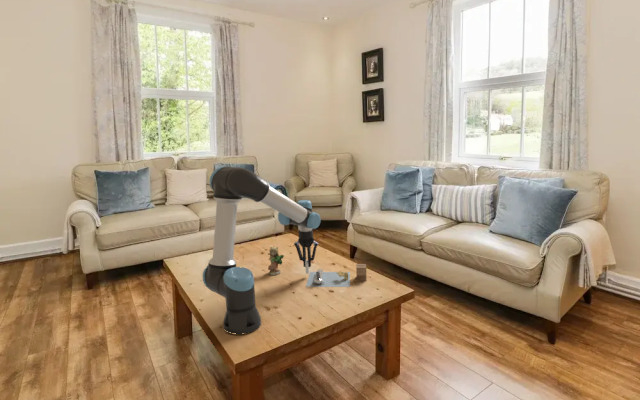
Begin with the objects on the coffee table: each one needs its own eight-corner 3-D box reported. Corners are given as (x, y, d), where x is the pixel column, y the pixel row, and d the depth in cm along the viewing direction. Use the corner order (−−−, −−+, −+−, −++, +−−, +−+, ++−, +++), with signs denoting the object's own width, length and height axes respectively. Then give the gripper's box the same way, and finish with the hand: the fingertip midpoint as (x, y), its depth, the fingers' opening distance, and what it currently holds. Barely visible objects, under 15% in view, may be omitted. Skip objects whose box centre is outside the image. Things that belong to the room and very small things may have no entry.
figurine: (265, 274, 205) (263, 248, 202) (273, 269, 211) (271, 244, 208) (279, 277, 200) (277, 250, 198) (286, 272, 207) (285, 246, 204)
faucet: (322, 284, 186) (322, 280, 186) (313, 284, 187) (313, 280, 186) (324, 272, 201) (324, 269, 201) (316, 272, 202) (316, 269, 201)
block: (366, 282, 190) (366, 267, 189) (356, 282, 191) (356, 267, 189) (366, 278, 195) (365, 264, 194) (356, 278, 196) (356, 264, 194)
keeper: (349, 282, 191) (349, 273, 190) (339, 283, 190) (339, 275, 189) (346, 278, 196) (345, 270, 195) (336, 280, 194) (336, 271, 193)
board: (349, 288, 184) (349, 275, 182) (305, 288, 186) (305, 274, 184) (349, 273, 202) (349, 261, 201) (310, 273, 204) (309, 261, 203)
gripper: (291, 231, 189) (294, 275, 194) (316, 232, 187) (318, 275, 192) (295, 227, 196) (297, 269, 201) (319, 228, 194) (320, 270, 199)
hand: (307, 272), depth 196 cm, fingers closed
